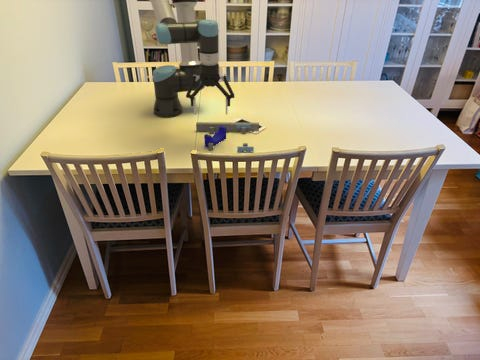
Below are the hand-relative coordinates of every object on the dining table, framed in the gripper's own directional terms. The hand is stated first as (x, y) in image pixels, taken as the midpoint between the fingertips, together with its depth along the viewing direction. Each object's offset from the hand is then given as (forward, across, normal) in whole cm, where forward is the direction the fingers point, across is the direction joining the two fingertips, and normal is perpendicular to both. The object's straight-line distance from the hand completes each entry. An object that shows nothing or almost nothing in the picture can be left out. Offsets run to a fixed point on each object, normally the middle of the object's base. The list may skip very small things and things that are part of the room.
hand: (210, 113), depth 146 cm
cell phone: (+14, +17, +16) cm, 28 cm away
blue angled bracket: (+14, +1, -1) cm, 14 cm away
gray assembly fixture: (+14, +7, 0) cm, 16 cm away
